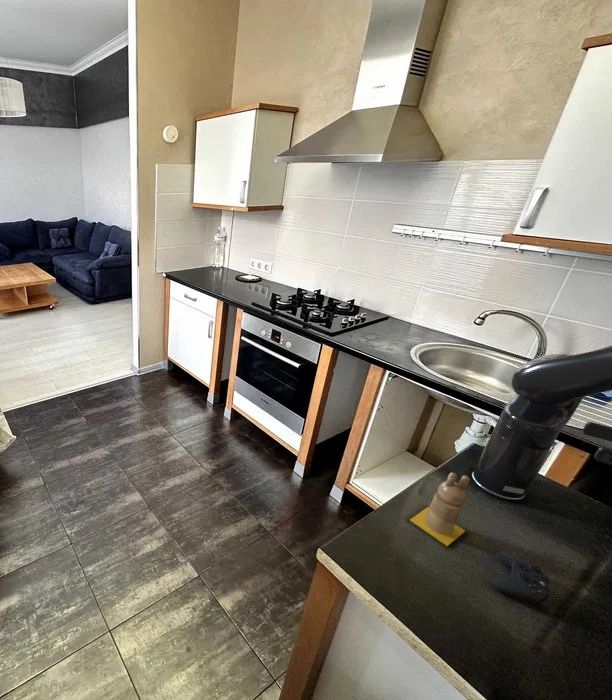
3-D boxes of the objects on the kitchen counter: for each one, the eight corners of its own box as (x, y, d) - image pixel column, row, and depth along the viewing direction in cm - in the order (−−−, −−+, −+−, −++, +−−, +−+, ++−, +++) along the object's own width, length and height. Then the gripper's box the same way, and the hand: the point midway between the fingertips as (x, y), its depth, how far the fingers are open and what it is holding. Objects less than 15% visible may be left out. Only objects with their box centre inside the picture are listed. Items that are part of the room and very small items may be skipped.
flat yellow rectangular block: (427, 507, 82) (428, 506, 81) (464, 531, 76) (465, 530, 76) (409, 520, 78) (410, 519, 78) (447, 546, 73) (447, 545, 73)
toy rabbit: (422, 513, 80) (442, 464, 74) (447, 520, 78) (471, 470, 73) (427, 530, 76) (449, 479, 70) (454, 537, 74) (479, 486, 69)
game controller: (494, 549, 71) (534, 548, 67) (512, 576, 70) (554, 576, 66) (487, 583, 65) (531, 585, 61) (507, 613, 64) (554, 617, 60)
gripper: (753, 438, 54) (591, 401, 64) (818, 497, 44) (614, 442, 53) (721, 478, 57) (570, 437, 67) (775, 541, 47) (588, 482, 56)
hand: (590, 439), depth 60 cm, fingers open, 8 cm apart
